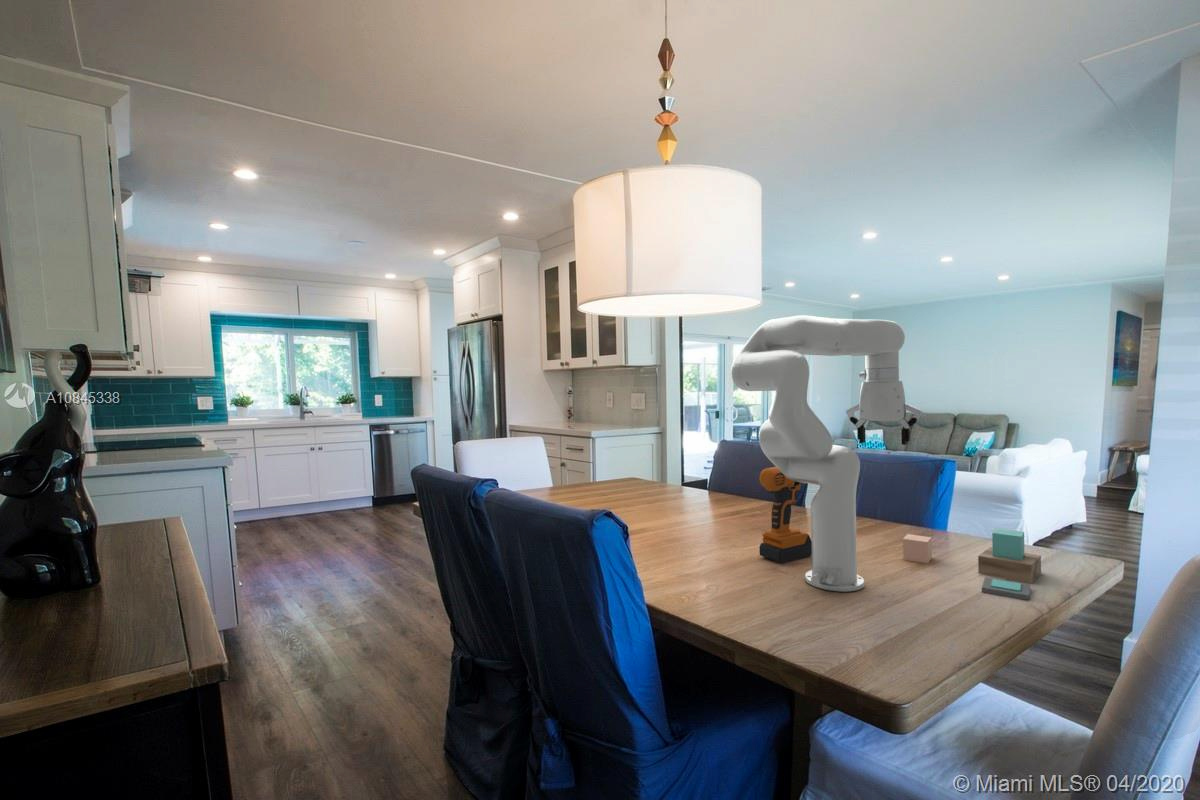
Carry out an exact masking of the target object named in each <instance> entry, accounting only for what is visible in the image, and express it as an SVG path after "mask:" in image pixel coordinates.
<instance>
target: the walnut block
mask: <svg viewBox="0 0 1200 800" xmlns="http://www.w3.org/2000/svg"><path fill="white" fill-rule="evenodd" d="M977 557H978V559H977V561H978V562H977V563H978V567H977V568H978V569H977V570H978V573H977V574H981V575H986V576H990V577H991V576H992V577H996V578H1001V579H1004V580H1006V579H1007V580H1009V581H1014V582H1019V583H1025V584H1030V585H1031V584H1033V583H1034V582H1035V581H1036V580H1037V579H1038V577H1039V576H1040V575H1041V574H1042V555H1039V554H1033V553H1027V552H1024V557H1023V559H1022V560H1015V559H1009V558H1002V557H996V556H993V546H989V547H988V548H986V549H985V550H984V551H983V552H981V553H980V554H979V555H978V556H977ZM1040 573H1041V574H1040Z"/></svg>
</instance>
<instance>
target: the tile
mask: <svg viewBox="0 0 1200 800" xmlns="http://www.w3.org/2000/svg"><path fill="white" fill-rule="evenodd" d="M981 585H982V586H981V593H985V594H991V595H997V596H1001V597H1002V596H1003V597H1006V598H1007V597H1008V598H1015V599H1021V600H1026V601H1030V593H1031V584H1030V583H1025V582H1020V581H1014V580H1006V579H998V578H994V577H987V576H985V577H984V579H983V582H982V584H981Z"/></svg>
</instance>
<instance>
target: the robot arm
mask: <svg viewBox="0 0 1200 800" xmlns="http://www.w3.org/2000/svg"><path fill="white" fill-rule="evenodd" d="M905 337H906V336H905V331H904V329H903V327H902V326H901V325H900V324H899V323H898V322H896V321H893V320H887V319H873V318H872V319H867V318H866V319H862V318H860V319H857V318H856V319H855V318H833V317H823V316H814V315H806V314H805V315H802V314H801V315H794V316H787V317H779V318H773V319H769V320H767V321H765V322H763V323H762V324H761V325H760V326H759V327H758V328H757V329H756V330H755V331H754V332H753V333H752V335H751V336H750V337H749V339H748V340H747V341H746V342H745V344H743V347H742V348H740V350H739V352H738V353H737V354H736V355H735V358H734V359H733V362H732V364H731V369H730V377H731V380H732V383H734V386H736V387H737V388H738V389H740V390H742V391H745V392H746V391H747V392H771V391H773V392H775V394H774V397H773V401H772V403H771V406H770V408H769V412H768V419H766V420H765V421H764V422H763V423H762V425H761V427H760V429H759V432H758V442H759V446H760V449H761V450H762V452H763V454H764V455H765V457H767V459H768V460H769V461H770V462H771V463H772V465H774V467H777V468H778V469H779V470H780V471H781V472H782V473H783V474H784V475H785V476H786V477H787V478H789V479H790V480H792V481H796V482H802V483H803V484H810V485H815V486H819V489H817V490H818V491H817V492H816V493H815V495H814V496H813V498H812V500H811V503H810V531H811V533H810V539H811V544H812V554H811V569H810V570H808V571H807V572H805V574H804V580H805V582H807V584H809V585H811V586H813V587H814V588H818V589H822V590H826V591H832V592H844V593H845V592H846V593H847V592H855V591H859V590H862V589H863V588H864V587H865V579H864V578H863V577H862V576H861V575H859V574H858V563H857V560H858V559H857V558H858V557H857V556H858V555H857V515H856V514H857V503H856V502H857V488H858V481H859V477H860V473H861V472H860V471H861V461H860V458H859V456H858V454H857V453H856V452H855V450H853V449H851V448H849V447H846V446H843V445H838V444H834V443H833V442H834V441H833V437H832V434H831V433H830V431H829V430H828V428H827V426H825V424H824V423H823V422H822V421H821V419H820V418H819V417H818V416H817V415H816V413H815V412H814V411H813V410H812V408H811V407H810V406H809V404H808V389H809V380H810V365H809V361H808V359H807V358H806V357H805V355H807V356H824V357H825V356H827V357H828V356H829V357H837V356H848V355H849V356H851V357H861V356H862V357H863V356H864V359H865V361H864V362H865V364H864V365H865V369H864V371H860V372H859V375H858V376H859V378H863V379H864V380H865V381H862V382H861V386H860V392H859V404H857V405H855V406H853V407H851V408H850V407H849V409H847V410H845V414H846V415H847V417H848V418H849V419H848V420H849V421H850V422H851V423H852V424H853V425H854V426H855V427H856V428H857V429H856V430H857V431H856V432H857V433H856V434H857V435H856V436H857V440H858V441H859V444H864V443H866V441H867V440H866V438H867V437H866V427H865V425H866V423H867V422H868V421H869V422H874V421H875V422H898V423H899V424H900V425H901V426H902V428H901V445H904V446H905V445H908V442H910V440H911V437H910V435H911V434H910V433H911V427H912V426H914V425H915V424H916V423H917V422H918V421H919V419H920V418H921V416H922V414H923V411H922V410H921V409H919V408H917V407H915V406H913V405H910V404H908V403H906V402H907V401H906V393H905V389H904V388H905V387H904V385H903V381H902V380H900V364H899V363H900V361H899V360H900V359H899V351H900V350H901V349H902V348H903V346H904V344H905V339H906V338H905ZM857 411H858V414H859V415H858V416H859V419H858V418H857V417H856V416H855V413H856V412H857ZM907 411H908V412H911V413H912V414H913V415H912V417H911V419H909V420H907V419H906V417H907Z"/></svg>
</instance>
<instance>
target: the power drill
mask: <svg viewBox="0 0 1200 800" xmlns="http://www.w3.org/2000/svg"><path fill="white" fill-rule="evenodd" d="M758 479H759V483H760V485H761V486H762V487H763V488H764V489H765V491H766V492H767V493H768V494H773V496H774V497H773V498H774V499H773V504H772V506H771V507H772V508H771V516H770V517H771V522H770V523H771V529H770V530H766V531H764V532H761V533H762V534H761V535H762V537H763V538H762V542H761V543H759V544H760V545H759V550H758V551H759V556H761V557H764V558H765V559H769V560H771V561H775V562H777V563H780V564H785V563H789V562H790V563H791V562H794V561H798V560H801V559H802V560H803V559H805V558H809V557H812V544H811V535H809V533H806V532H803V531H801V530H799V529H795V528H793V527H790V523H791V515H792V504H793V503H796V501H797V500H798V498H797V494H798V492H799V491H800V490H801V485H802V484H804V483H802V482H796V481H792V480H790V479H789V478H787V477H786V476H785V475H784V474H783V473H782V472H781V471H780V470H779V469H778V468H777V467H776V466H772V467H767V468H764V469H762V471H760V473H759V476H758Z"/></svg>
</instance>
